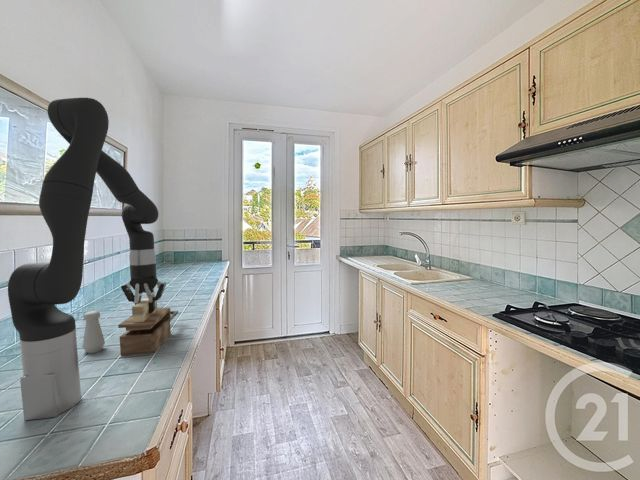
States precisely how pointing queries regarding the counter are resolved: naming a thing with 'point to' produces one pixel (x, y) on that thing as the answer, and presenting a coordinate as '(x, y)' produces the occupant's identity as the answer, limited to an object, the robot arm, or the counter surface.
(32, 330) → the robot arm
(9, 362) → the counter surface
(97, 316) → the salt shaker
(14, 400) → the counter surface
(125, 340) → the toolbox
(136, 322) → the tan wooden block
